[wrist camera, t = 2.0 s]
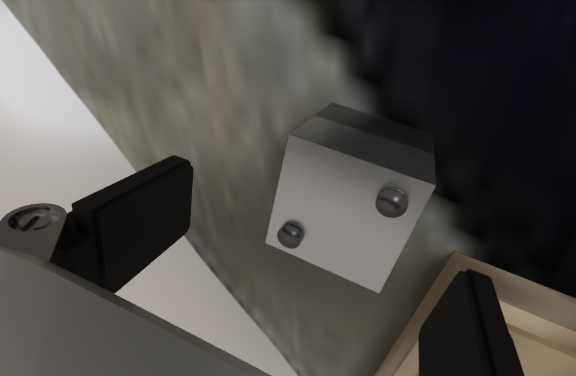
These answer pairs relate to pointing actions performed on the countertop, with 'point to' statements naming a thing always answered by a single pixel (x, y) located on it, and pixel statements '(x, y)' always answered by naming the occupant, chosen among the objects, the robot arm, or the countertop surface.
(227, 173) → the countertop surface
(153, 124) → the countertop surface
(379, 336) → the countertop surface
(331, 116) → the block
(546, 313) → the beech stand
